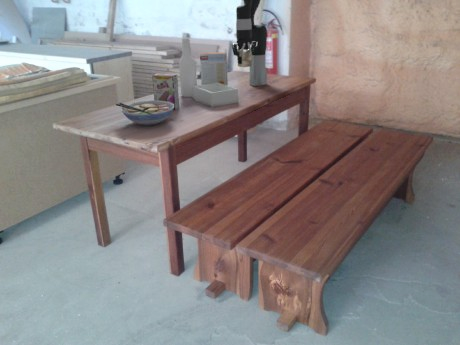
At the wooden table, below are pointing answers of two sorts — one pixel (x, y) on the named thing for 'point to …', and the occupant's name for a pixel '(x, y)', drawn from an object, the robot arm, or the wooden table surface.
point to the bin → (215, 94)
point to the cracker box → (213, 68)
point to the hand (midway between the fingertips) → (244, 63)
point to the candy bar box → (166, 88)
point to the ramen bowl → (147, 111)
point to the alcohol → (187, 70)
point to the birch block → (245, 59)
